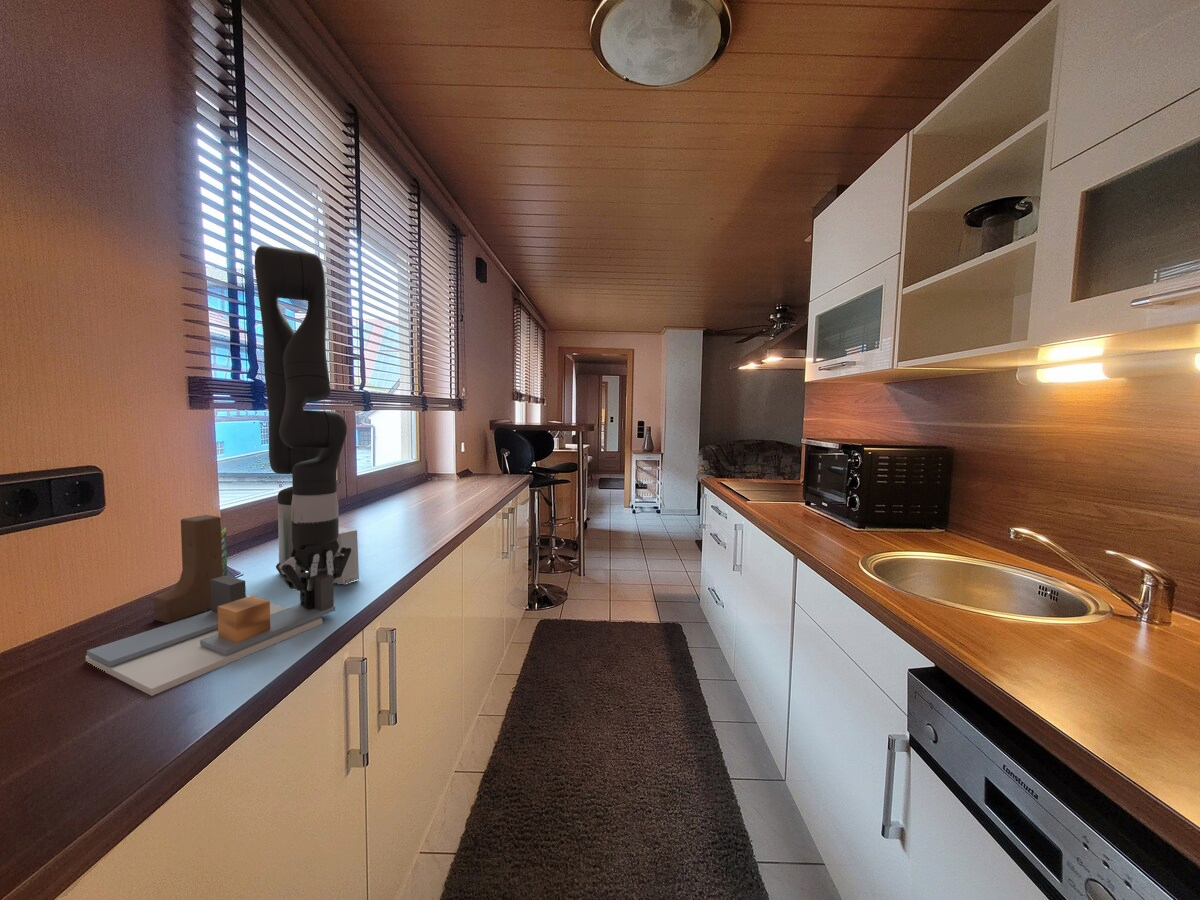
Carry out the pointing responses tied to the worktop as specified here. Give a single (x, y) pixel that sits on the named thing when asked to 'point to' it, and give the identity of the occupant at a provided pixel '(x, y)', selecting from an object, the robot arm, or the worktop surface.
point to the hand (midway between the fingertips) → (316, 605)
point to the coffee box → (224, 551)
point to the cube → (243, 618)
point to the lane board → (186, 660)
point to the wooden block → (193, 570)
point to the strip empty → (172, 627)
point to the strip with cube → (283, 618)
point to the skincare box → (351, 568)
